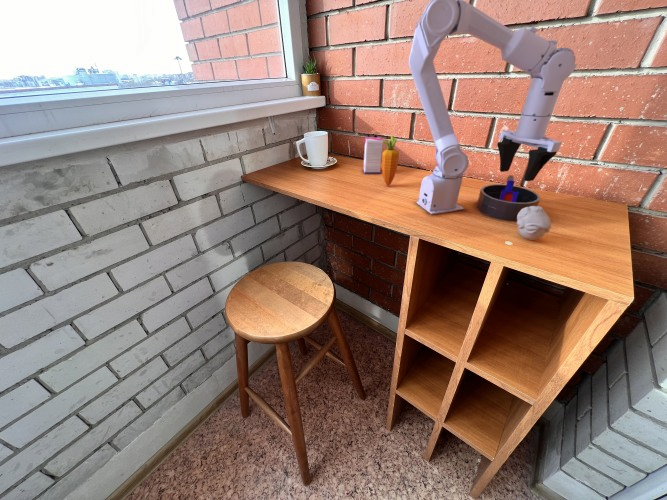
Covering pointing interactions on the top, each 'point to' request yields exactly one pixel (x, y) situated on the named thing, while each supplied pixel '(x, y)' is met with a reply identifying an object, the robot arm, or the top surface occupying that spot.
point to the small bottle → (509, 193)
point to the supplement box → (372, 155)
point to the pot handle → (510, 178)
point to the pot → (505, 202)
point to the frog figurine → (533, 222)
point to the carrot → (389, 161)
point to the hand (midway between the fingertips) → (515, 175)
